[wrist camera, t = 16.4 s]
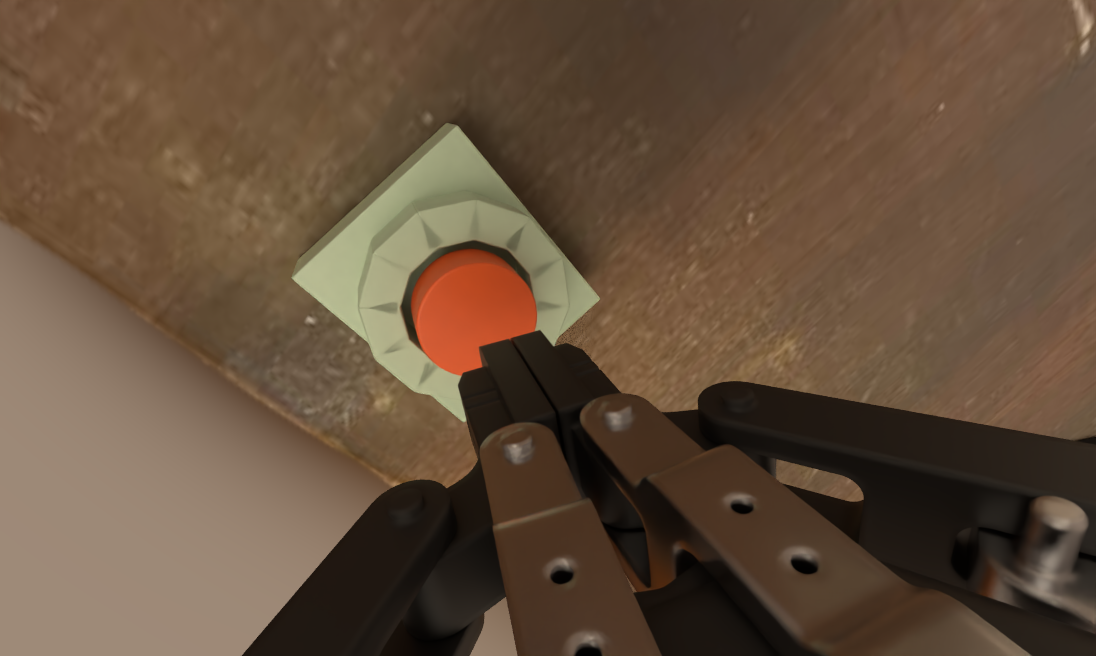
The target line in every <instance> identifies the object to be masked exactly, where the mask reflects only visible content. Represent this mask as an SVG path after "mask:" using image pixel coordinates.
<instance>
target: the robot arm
mask: <svg viewBox="0 0 1096 656" xmlns="http://www.w3.org/2000/svg"><path fill="white" fill-rule="evenodd" d="M479 353H480V358H481V362H482V367H481V368H477V369H474V370H470V371H467V372H463V374H462V376H461V378H460V381H459V383H458V389H459V393H460V397H461V401H462V405H463V409H464V412H465V416H466V420H467V424H468V428H469V432H470V436H471V440H472V443H473V446H474V449H475V452H476V455H477V458H478V461H477V463H476V465H475V466H474V468H473V469H472V470H471V471H470V472H469V473H468V474H467V475H466V476H465V477H464V478H463V479H461V480H460V481H458V482H457V483H455V484H454V485H452V486H450V487H448V488H447V489H446V488H445V486H443V485H442V484H440V483H438V482H436V481H432V480H414V481H409V482H405V483H402V484H399V485H397V486H395V487H393V488H391V489H389V490H387V491H386V492H384V493H383V494H382V495H380V496H379V497H378V498H377V499H376V500H375V501H374V502H373V503H372V504H371V505H370V506H369V507H368V509H367V510H366V511H365V512H364V513H363V515H362V516H361V517H360V518H359V519H358V520H357V522H356V523H355V524H354V525H353V526H352V528H351V529H350V530H349V531H348V532H347V533H346V534H345V536H344V537H343V538H342V539H341V540H340V541H339V543H338V544H337V545H336V546H335V547H334V549H333V550H332V551H331V552H330V553H329V554H328V555H327V557H326V558H325V559H324V560H323V561H322V563H321V564H320V565H319V566H318V567H317V568H316V570H315V571H314V572H313V573H312V574H311V575H310V577H309V578H308V579H307V580H306V581H305V582H304V583H303V585H302V586H301V587H300V588H299V589H298V590H297V592H296V593H295V594H294V595H293V596H292V598H291V599H290V600H289V601H288V602H287V604H286V605H285V606H284V607H283V608H282V609H281V610H280V612H279V613H278V614H277V615H276V616H275V617H274V619H273V620H272V621H271V622H270V623H269V624H268V626H267V627H266V628H265V629H264V630H263V631H262V633H261V634H260V635H259V636H258V637H257V638H256V640H255V641H254V642H253V643H252V644H251V646H250V647H249V648H248V649H247V650H246V651H245V652H244V654H243V655H242V656H469V655H470V654H471V652H472V650H473V648H474V646H475V643H476V641H477V639H478V637H479V635H480V633H481V631H482V628H483V624H484V613H485V612H486V611H487V610H489V609H490V608H491V607H492V606H494V605H495V604H497V603H498V602H499V601H501V600H502V599H503V598H505V597H506V599H507V604H508V609H509V614H510V619H511V624H512V629H513V634H514V640H515V645H516V650H517V655H518V656H1096V445H1094V444H1089V443H1083V442H1078V441H1072V440H1066V439H1061V438H1055V437H1050V436H1044V435H1039V434H1033V433H1027V432H1022V431H1016V430H1011V429H1005V428H1000V427H994V426H988V425H983V424H977V423H972V422H966V421H961V420H955V419H949V418H944V417H938V416H933V415H927V414H922V413H916V412H910V411H905V410H899V409H894V408H888V407H883V406H877V405H871V404H866V403H860V402H855V401H849V400H844V399H838V398H832V397H827V396H821V395H816V394H810V393H805V392H799V391H793V390H788V389H782V388H777V387H771V386H766V385H760V384H754V383H749V382H741V381H729V382H722V383H718V384H715V385H712V386H710V387H708V388H706V389H705V390H703V391H702V393H701V394H700V395H699V397H698V410H688V411H678V412H660V411H659V410H658V409H657V408H656V407H654V406H653V405H652V404H651V403H650V402H649V401H647V400H646V399H644V398H642V397H640V396H637V395H632V394H625V393H621V392H620V391H619V390H618V389H617V388H616V387H615V385H614V384H613V383H612V382H611V381H610V380H609V379H608V378H607V377H606V375H605V374H604V373H603V372H602V371H601V370H599V368H598V366H597V365H596V364H595V363H594V362H592V360H591V359H590V357H589V356H588V355H587V354H586V353H585V352H584V351H583V350H582V349H580V348H577V347H575V346H572V345H570V344H567V343H565V344H561V345H558V346H553V345H552V344H551V343H550V341H549V340H548V339H547V338H546V336H545V335H544V334H543V332H542V331H541V330H538V331H534V332H530V333H527V334H523V335H519V336H516V337H512V338H510V339H505V340H502V341H498V342H494V343H491V344H487V345H483V346H480V347H479ZM776 459H779V460H783V461H787V462H791V463H795V464H799V465H803V466H807V467H811V468H815V469H819V470H823V471H827V472H831V473H835V474H839V475H842V476H845V477H847V478H849V479H851V480H853V481H854V482H855V483H856V484H857V485H858V486H859V487H860V488H861V490H862V492H863V495H864V500H862V501H858V502H849V501H845V500H841V499H838V498H834V497H830V496H826V495H823V494H819V493H815V492H812V491H808V490H804V489H801V488H797V487H793V486H790V485H786V484H782V483H780V482H779V481H778V480H777V479H776ZM625 575H626V576H627V578H628V579H629V581H630V582H631V584H632V585H633V587H634V588H635V590H636V591H637V592H635V593H633V591H632V589H631V587H630V584H629V582H628V580H627V578H626V576H625Z"/></svg>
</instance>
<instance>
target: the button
mask: <svg viewBox="0 0 1096 656" xmlns="http://www.w3.org/2000/svg"><path fill="white" fill-rule="evenodd" d="M411 312H412V317H413V321H414V325H415V329H416V333H417V337H418V340H419V343H420V345H421V347H422V349H423V351H424V352H425V354H426V355H427V356H428V358H429V359H430V360H431V361H432V362H433V363H435V364H436V365H437V366H438V367H440V368H442V369H443V370H445V371H447V372H450V373H452V374H456V375H460V376H462V374H463V372H467V371H470V370H474V369H477V368H481V367H482V362H481V358H480V353H479V347H480V346H483V345H487V344H491V343H494V342H498V341H502V340H505V339H510V338H512V337H516V336H519V335H523V334H527V333H530V332H534V331H535V328H536V323H537V308H536V303H535V299H534V296H533V294H532V292H531V290H530V288H529V286H528V285H527V284H526V283H525V281H524V280H523V279H522V278H521V277H520V276H519V275H518V274H517V272H516V271H515V270H514V269H513V268H512V267H511V266H510V265H509V264H508V263H507V262H506V261H504V260H503V259H502V258H500V257H499V256H497V255H495V254H493V253H490V252H487V251H484V250H479V249H462V250H456V251H453V252H450V253H447V254H445V255H443V256H441V257H439V258H438V259H436V260H435V261H433V262H432V263H431V264H430V265H429V266H428V267H427V268H426V269H425V270H424V271H423V272H422V274H421V275H420V276H419V278H418V280H417V282H416V284H415V287H414V289H413V293H412V298H411Z"/></svg>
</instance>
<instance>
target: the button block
mask: <svg viewBox="0 0 1096 656" xmlns="http://www.w3.org/2000/svg"><path fill="white" fill-rule="evenodd" d="M462 249H479V250H484V251H487V252H490V253H493V254H495V255H497V256H499V257H500V258H502V259H503V260H504V261H506V262H507V263H508V264H509V265H510V266H511V267H512V268H513V269H514V270H515V271H516V272H517V274H518V275H519V276H520V277H521V278H522V279H523V280H524V281H525V283H526V284H527V285H528V286H529V288H530V290H531V292H532V294H533V296H534V299H535V303H536V308H537V323H536V328H535V331H538V330H541V331H542V332H543V334H544V335H545V336H546V338H547V339H548V340H549V341H550V343H551V344H552V345H553V346H555V343H556V341H557V338H558V337H559V336H560V335H561V334H562V333H564V332H565V331H566V330H567V329H568V328H569V327H570V326H571V325H572V324H573V323H575V322H576V321H577V320H578V319H579V318H580V317H581V316H582V315H583V314H585V313H586V312H587V311H588V310H589V309H590V308H591V307H592V306H593V305H594V304H596V303H597V302H598V301H599V300H600V297H599V296H598V295H597V294H596V293H595V291H594V290H593V289H592V288H591V287H590V285H589V284H588V283H587V282H586V280H585V279H584V278H583V277H582V276H581V274H580V273H579V272H578V271H577V270H576V268H575V267H574V266H573V265H572V264H571V262H570V261H569V260H568V259H567V257H566V256H565V255H564V254H563V253H562V251H561V250H560V249H559V248H558V247H557V245H556V244H555V243H554V242H553V240H552V239H551V238H550V237H549V236H548V234H547V233H546V232H545V231H544V230H543V228H542V227H541V226H540V225H539V223H538V222H537V221H536V220H535V219H534V217H533V216H532V215H531V214H530V213H529V211H528V210H527V209H526V208H525V207H524V205H523V204H522V203H521V202H520V200H519V199H518V198H517V197H516V196H515V194H514V193H513V192H512V191H511V190H510V188H509V187H508V186H507V185H506V183H505V182H504V181H503V180H502V179H501V177H500V176H499V175H498V174H497V173H496V171H495V170H494V169H493V168H492V166H491V165H490V164H489V163H488V162H487V160H486V159H485V158H484V157H483V156H482V154H481V153H480V152H479V151H478V149H477V148H476V147H475V146H474V145H473V143H472V142H471V141H470V140H469V139H468V137H467V136H466V135H465V134H464V133H463V131H462V130H461V129H460V128H459V126H457V125H453V124H450V123H446V124H445V125H443V126H442V127H441V128H440V129H439V130H438V131H437V132H436V133H435V134H434V135H433V136H432V137H430V138H429V139H428V140H427V141H426V142H425V143H424V144H423V145H422V146H421V147H420V148H419V149H417V150H416V151H415V152H414V153H413V154H412V155H411V156H410V157H409V158H408V159H407V160H406V161H404V162H403V163H402V164H401V165H400V166H399V167H398V168H397V169H396V170H395V171H394V172H392V173H391V174H390V175H389V176H388V177H387V178H386V179H385V180H384V181H383V182H382V183H381V184H379V185H378V186H377V187H376V188H375V189H374V190H373V191H372V192H371V193H370V194H369V195H368V196H366V197H365V198H364V199H363V200H362V201H361V202H360V203H359V204H358V205H357V206H356V207H355V208H353V209H352V210H351V211H350V212H349V213H348V214H347V215H346V216H345V217H344V218H343V219H342V220H340V221H339V222H338V223H337V224H336V225H335V226H334V227H333V228H332V229H331V230H330V231H329V232H327V233H326V234H325V235H324V236H323V237H322V238H321V239H320V240H319V241H318V242H317V243H316V244H314V245H313V246H312V247H311V248H310V249H309V250H308V251H307V252H306V253H305V254H304V255H302V256H301V257H300V258H299V259H298V261H297V264H296V267H295V270H294V272H293V275H292V279H293V280H294V281H295V282H296V283H297V284H299V285H300V286H301V287H302V288H303V289H305V290H306V291H307V292H308V293H309V294H311V295H312V296H313V297H314V298H315V299H317V300H318V301H319V302H320V303H321V304H322V305H324V306H325V307H326V308H327V309H328V310H330V311H331V312H332V313H333V314H334V315H336V316H337V317H338V318H339V319H340V320H342V321H343V322H344V323H345V324H346V325H348V326H349V327H350V328H351V329H352V330H354V331H355V332H356V333H357V334H358V335H359V336H361V337H362V338H363V339H364V340H365V341H367V342H368V343H369V345H370V348H371V351H372V354H373V357H374V358H375V360H376V361H377V362H378V363H380V364H381V365H382V366H383V367H384V368H386V369H387V370H388V371H389V372H390V373H392V374H393V375H394V376H395V377H397V378H398V379H399V380H400V381H401V382H403V383H404V384H405V385H406V386H407V387H409V388H410V389H411V390H412V391H415V392H416V393H422V394H427V395H431V396H432V397H434V398H435V399H436V400H437V401H438V402H440V403H441V404H442V405H443V406H444V407H445V408H447V409H448V410H449V411H450V412H451V413H453V414H454V415H455V416H456V417H457V418H459V419H460V420H461V421H462V422H465V421H466V416H465V412H464V409H463V405H462V401H461V397H460V393H459V389H458V383H459V381H460V378H461V376H460V375H456V374H452V373H450V372H447V371H445V370H443V369H442V368H440V367H438V366H437V365H436V364H435V363H433V362H432V361H431V360H430V359H429V358H428V356H427V355H426V354H425V352H424V351H423V349H422V347H421V345H420V343H419V340H418V337H417V333H416V329H415V325H414V321H413V317H412V312H411V298H412V293H413V289H414V287H415V284H416V282H417V280H418V278H419V276H420V275H421V274H422V272H423V271H424V270H425V269H426V268H427V267H428V266H429V265H430V264H431V263H432V262H433V261H435V260H436V259H438V258H439V257H441V256H443V255H445V254H447V253H450V252H453V251H456V250H462Z"/></svg>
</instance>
